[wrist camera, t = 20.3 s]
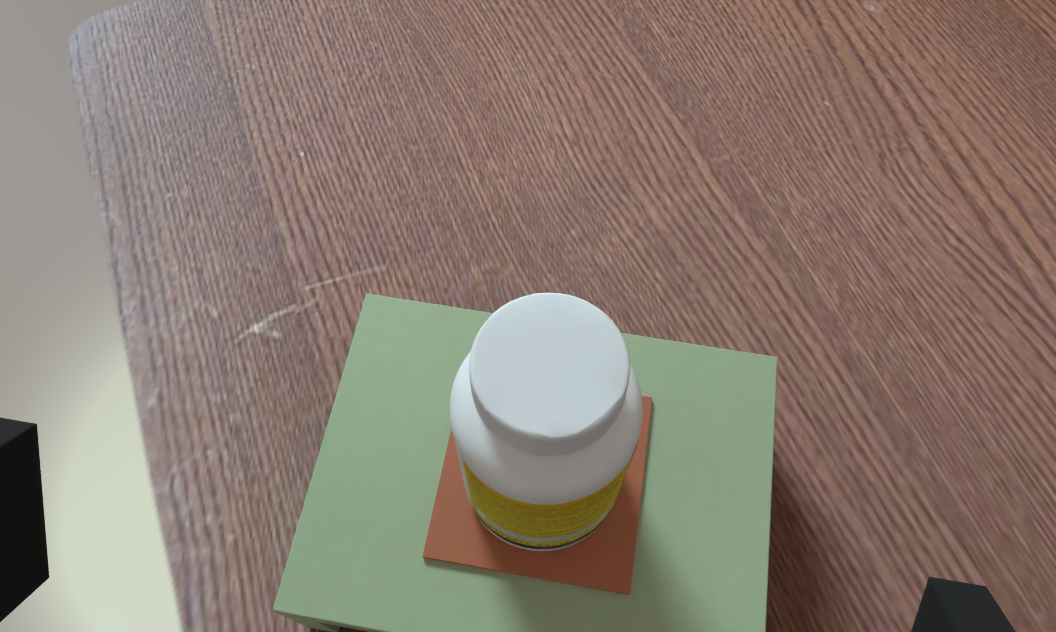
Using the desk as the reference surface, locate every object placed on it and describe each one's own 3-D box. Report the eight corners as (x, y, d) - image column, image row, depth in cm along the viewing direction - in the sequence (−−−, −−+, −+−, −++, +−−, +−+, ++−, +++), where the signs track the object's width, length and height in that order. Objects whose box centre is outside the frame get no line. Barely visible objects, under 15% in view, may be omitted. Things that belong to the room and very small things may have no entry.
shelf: (308, 627, 32) (270, 609, 27) (386, 345, 37) (365, 290, 32) (728, 707, 30) (764, 702, 26) (746, 403, 36) (779, 354, 31)
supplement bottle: (642, 524, 28) (694, 431, 19) (490, 576, 27) (473, 502, 19) (588, 383, 31) (612, 244, 22) (446, 427, 30) (412, 301, 21)
